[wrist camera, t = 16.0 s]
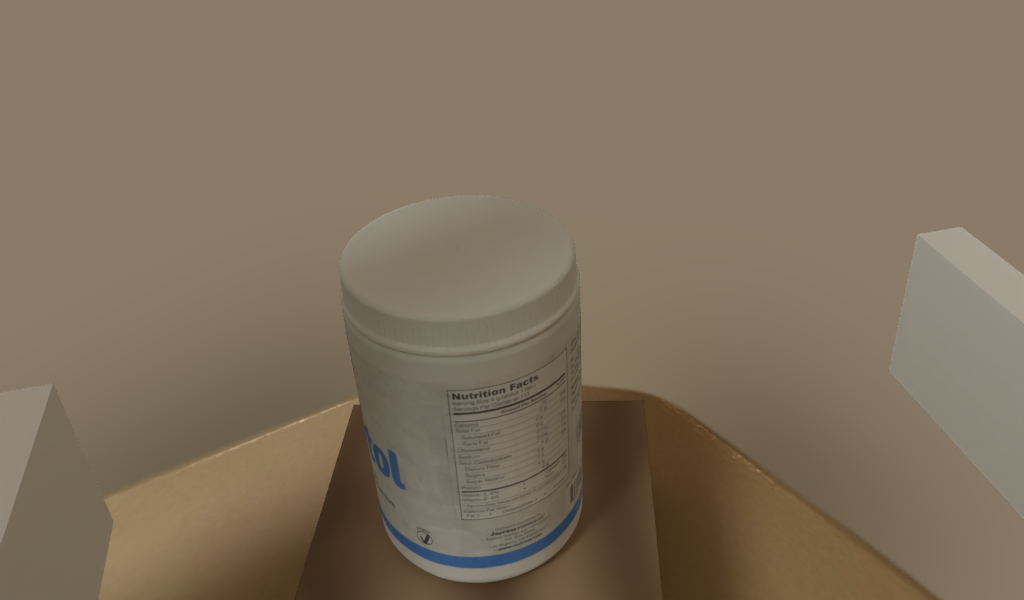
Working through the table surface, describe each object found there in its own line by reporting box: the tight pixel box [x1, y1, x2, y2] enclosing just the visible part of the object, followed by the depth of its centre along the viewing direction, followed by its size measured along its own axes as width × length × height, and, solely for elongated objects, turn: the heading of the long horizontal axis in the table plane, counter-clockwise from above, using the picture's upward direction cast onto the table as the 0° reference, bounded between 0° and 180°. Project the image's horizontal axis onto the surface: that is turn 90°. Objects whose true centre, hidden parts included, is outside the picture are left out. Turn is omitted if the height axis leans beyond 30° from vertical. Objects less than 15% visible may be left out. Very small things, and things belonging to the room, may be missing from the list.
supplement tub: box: [339, 195, 583, 583], centre depth 40 cm, size 10×10×15 cm
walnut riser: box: [295, 401, 663, 600], centre depth 46 cm, size 16×16×6 cm
